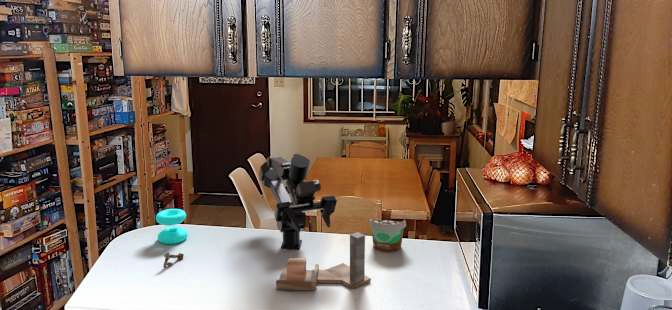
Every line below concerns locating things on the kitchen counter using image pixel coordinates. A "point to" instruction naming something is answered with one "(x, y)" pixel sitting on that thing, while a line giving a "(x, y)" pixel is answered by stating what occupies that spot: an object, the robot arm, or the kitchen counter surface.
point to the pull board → (333, 271)
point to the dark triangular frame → (179, 256)
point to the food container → (387, 234)
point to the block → (296, 269)
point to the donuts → (171, 233)
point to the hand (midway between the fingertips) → (314, 229)
